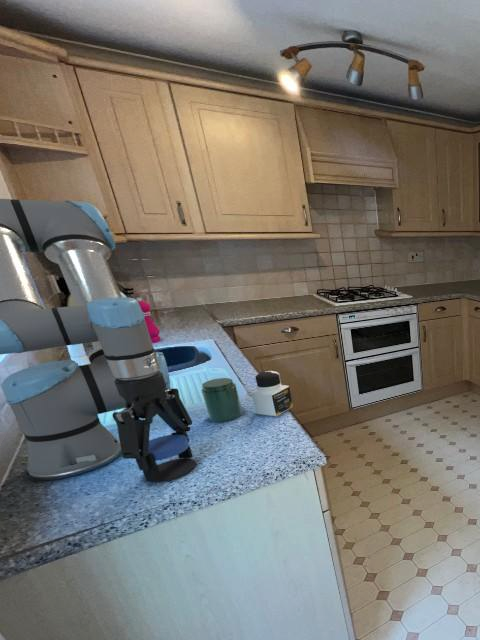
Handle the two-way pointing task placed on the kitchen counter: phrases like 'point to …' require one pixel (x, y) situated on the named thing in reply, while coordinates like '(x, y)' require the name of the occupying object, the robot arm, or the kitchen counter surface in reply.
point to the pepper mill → (149, 321)
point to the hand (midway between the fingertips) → (170, 468)
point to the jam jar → (221, 399)
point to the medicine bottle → (271, 394)
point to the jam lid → (167, 446)
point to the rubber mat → (175, 469)
